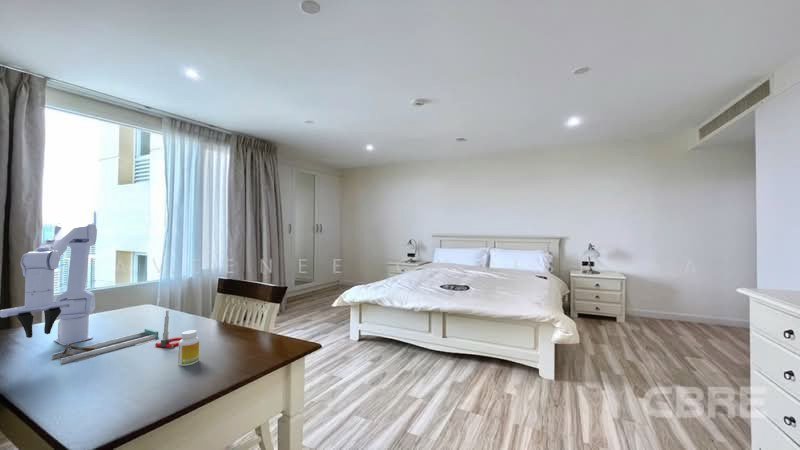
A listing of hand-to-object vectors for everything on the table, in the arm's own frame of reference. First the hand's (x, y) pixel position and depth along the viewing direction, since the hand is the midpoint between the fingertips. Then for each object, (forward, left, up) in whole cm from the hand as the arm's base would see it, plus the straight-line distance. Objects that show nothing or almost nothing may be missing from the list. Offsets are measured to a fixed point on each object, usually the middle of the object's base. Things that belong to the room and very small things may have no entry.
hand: (38, 335), depth 94 cm
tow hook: (+15, +30, -10) cm, 35 cm away
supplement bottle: (+37, +23, -10) cm, 45 cm away
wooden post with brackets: (0, +9, -10) cm, 13 cm away
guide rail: (0, +17, -9) cm, 19 cm away
